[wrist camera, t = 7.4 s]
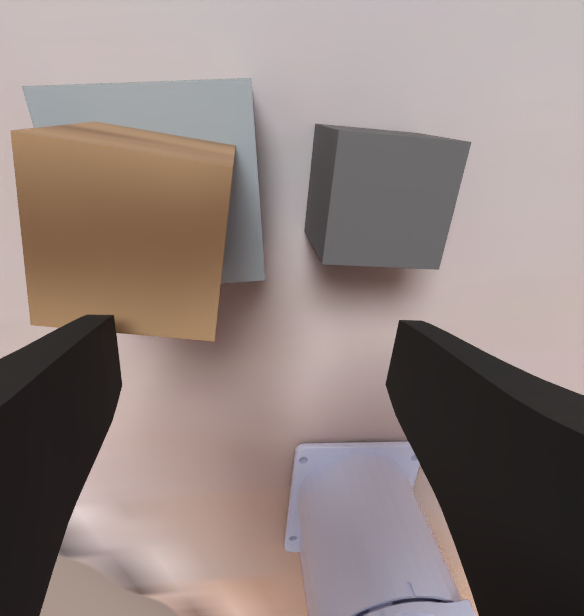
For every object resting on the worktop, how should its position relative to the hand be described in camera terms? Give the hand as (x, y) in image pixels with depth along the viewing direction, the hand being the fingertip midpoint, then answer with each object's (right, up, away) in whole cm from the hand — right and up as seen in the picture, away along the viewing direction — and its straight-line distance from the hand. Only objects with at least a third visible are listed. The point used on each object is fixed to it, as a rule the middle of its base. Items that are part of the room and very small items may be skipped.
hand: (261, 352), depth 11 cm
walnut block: (-4, +5, +4) cm, 7 cm away
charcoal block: (+4, +7, +8) cm, 11 cm away
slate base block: (-4, +7, +7) cm, 11 cm away
